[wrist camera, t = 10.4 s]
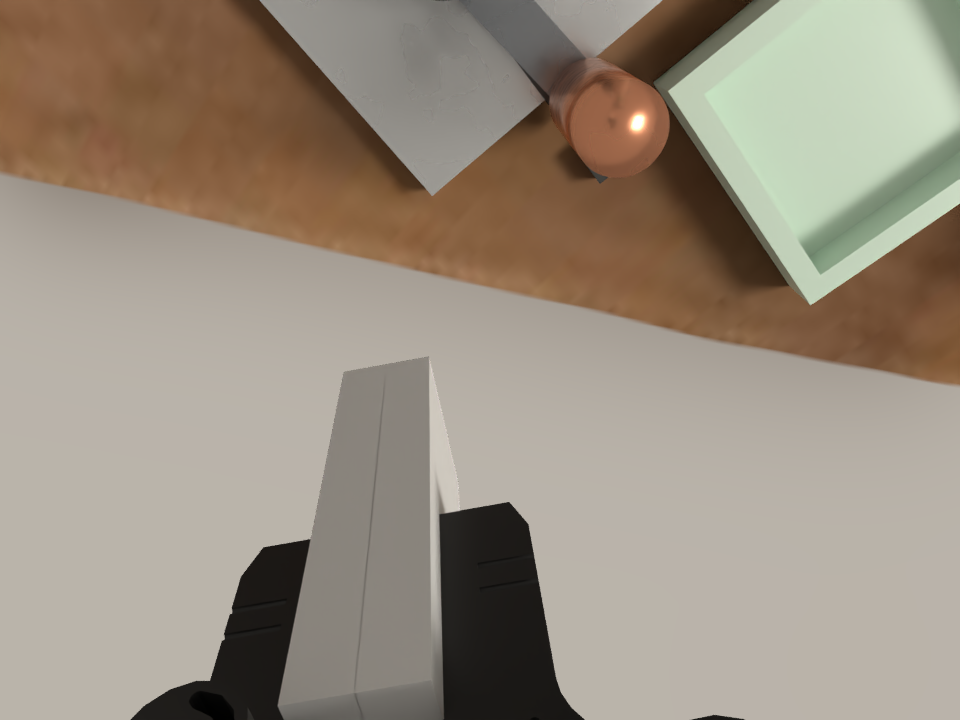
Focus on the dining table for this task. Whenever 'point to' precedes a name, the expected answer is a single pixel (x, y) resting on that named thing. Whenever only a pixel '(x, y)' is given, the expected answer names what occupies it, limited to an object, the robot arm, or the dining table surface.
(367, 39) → the crank plate
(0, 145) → the dining table surface
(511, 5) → the crank
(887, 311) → the dining table surface
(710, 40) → the tray
